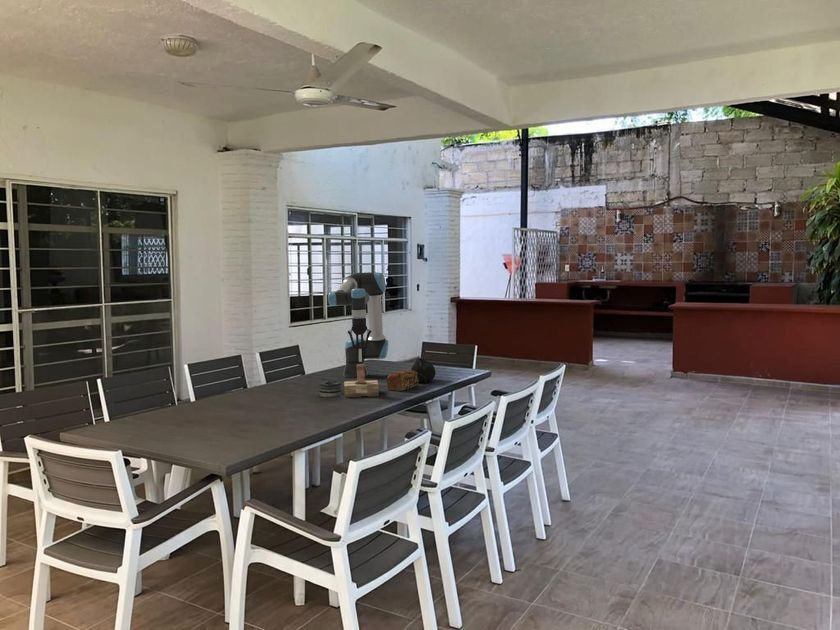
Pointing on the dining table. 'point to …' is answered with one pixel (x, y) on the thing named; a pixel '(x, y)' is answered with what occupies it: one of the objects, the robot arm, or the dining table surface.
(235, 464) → the dining table surface
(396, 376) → the bread
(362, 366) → the peg
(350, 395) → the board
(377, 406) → the dining table surface
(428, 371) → the squash
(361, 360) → the robot arm
